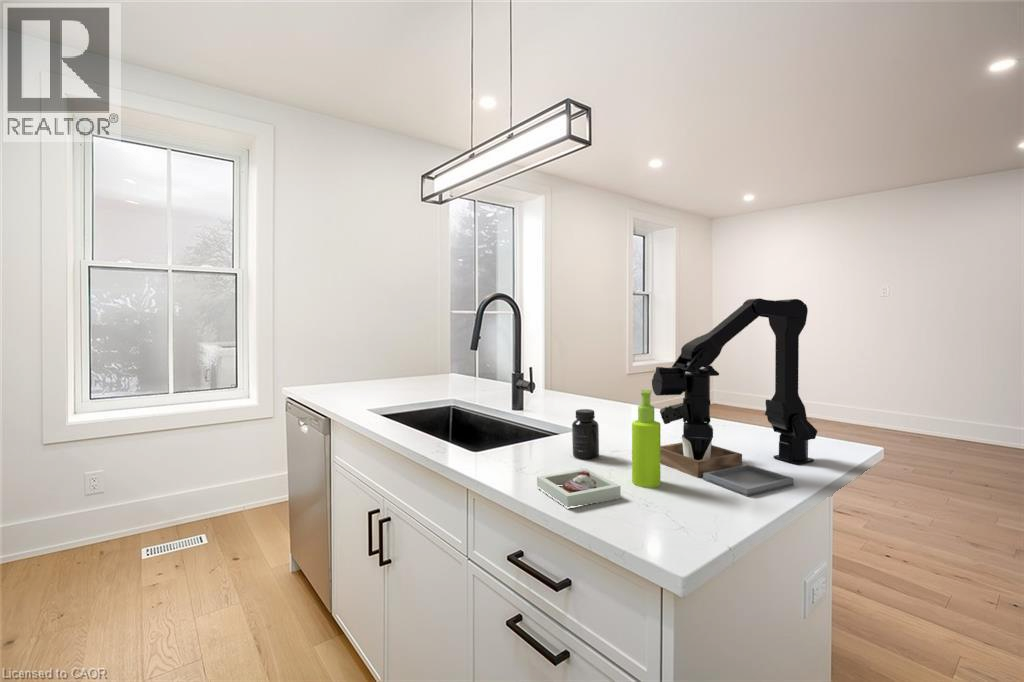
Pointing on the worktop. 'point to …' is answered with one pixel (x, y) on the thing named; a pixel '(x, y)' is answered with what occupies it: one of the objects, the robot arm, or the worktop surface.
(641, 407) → the soap dispenser
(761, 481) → the charcoal tray
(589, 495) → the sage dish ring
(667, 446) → the walnut bin
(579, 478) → the pastry
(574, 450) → the supplement bottle
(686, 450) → the white tapered cup
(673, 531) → the worktop surface
